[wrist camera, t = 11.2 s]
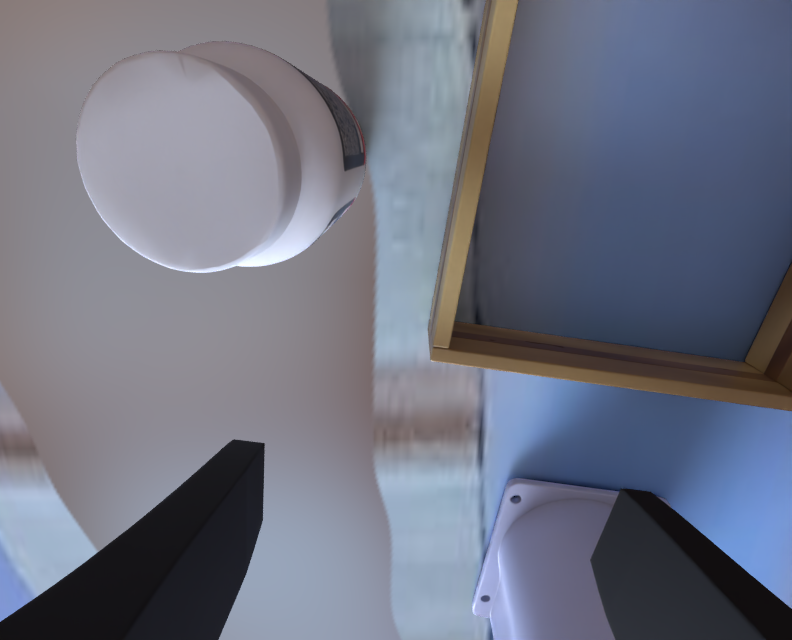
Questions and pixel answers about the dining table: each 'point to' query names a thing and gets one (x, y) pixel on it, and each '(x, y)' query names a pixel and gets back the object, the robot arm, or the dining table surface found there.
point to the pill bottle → (217, 156)
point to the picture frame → (563, 356)
